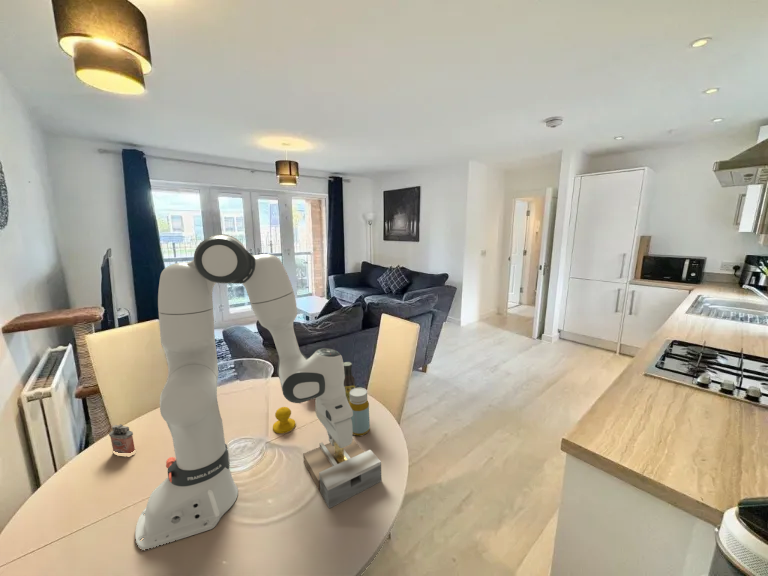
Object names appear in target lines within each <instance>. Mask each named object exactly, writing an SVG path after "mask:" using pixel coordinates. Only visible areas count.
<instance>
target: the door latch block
mask: <svg viewBox="0 0 768 576" xmlns="http://www.w3.org/2000/svg"><path fill="white" fill-rule="evenodd" d="M334 454H335V447H334V446H332V444H331V443H330V442H328V443H326V444H324V442H323V441H321V442H319V446H318V447H317V448H314V449H311V450H309V451H307V452H304V453H303V454H302V457H303V463H304V465H305V467H306V469H307V471H308V473H309V474H310V476H311V478H312V480H313V481H314V483H315V485H316V488H317V489H318V491H320V494H321V496H322V498H323V500H324V502H325V504H326V505H327V507H328V509H331V508H333V507H335V506H336V505H339V504H340V503H343V502H344V501H346V500H348V499H351V498H352V497H354V496H356V495H358V494H359V493H362V492H363V491H365V490H367V489H369V488H371V487H374V486H375V485H377V484H379V483H381V482H382V479H383V478H382V461H381V460H380V459H379V457H378V456H377V455H376V454H375V453H374V452H373V451H372V450H371V449H368V450H365V451H364V450H363V448H362V447H361V446H360V445H359V444H358V442H357V441H356V440H355V439H354V438H353V439H352V443H351V444H350V445H348V446H346V447H344V456H345V457H346V458H347V460H346V461H343V462H341V463H339V464H337V462H336V461H335V459H334Z"/></svg>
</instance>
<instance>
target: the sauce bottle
mask: <svg viewBox="0 0 768 576" xmlns="http://www.w3.org/2000/svg"><path fill="white" fill-rule="evenodd" d="M343 364H344V374H345V379H344V387H345V394H346V397H347V401H348V403H350V391H351V390H352V389H354V388H356V385H355V381H356V380H355V377H354V376H353V371H352V367H353V364H352V362H351V361H345V362H344V361H343Z"/></svg>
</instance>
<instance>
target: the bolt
mask: <svg viewBox="0 0 768 576" xmlns="http://www.w3.org/2000/svg"><path fill="white" fill-rule="evenodd" d="M334 447H335V454H334V459H335V461H336V462H337V464H339V463H341V462H343V461H346V460H347V458H346V457H345V456H344V447H343V448H340V447H339V446H338V444H337V443H336V442H334Z"/></svg>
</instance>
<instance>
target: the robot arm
mask: <svg viewBox="0 0 768 576" xmlns="http://www.w3.org/2000/svg"><path fill="white" fill-rule="evenodd" d="M216 284H242V285H243V286H244V288H245V291H246V293H247V296H248V298H249V302H250V305H251V308H252V310H253V313H254V315H255V317H256V319H257V320H258V322H259V324H260V326H261V327H263V328H265V329H267V330H268V331H269V333H270V334H271V336H272V339H273V342H274V344H275V348H276V349H275V350H276V351H277V355H278V362H277V369H276V370H277V372H276V373H277V376H278V379H279V382H280V387H281V391H282V395H283V396H284V398H285V399H286V400H287V401H288V402H290V403H293V404H301V403H306V402H309V401H311V400H314V401H315V403H314V404H315V405H314V407H315V416H316V418H317V419H318V421H319V422H320V423H321V425H323V427H324V428H325V430H326V433H327V437H328V441H329V442H328V443H331V444H332V446H334V442H336V443H337V444H338V446H339V447H340V448H343V447H346V446H348V445H350V444H351V443H352V439H354V438H353V437H354V436H353V435H354V434H353V430H352V420H351V418H350V417H352V416H353V410H352V408H351V407H350V405H349V403H348V401H347V397H346V394H345V387H344V379H345V374H344V364H343V363H344V360H343V356H342V355H341V353H340V352H339V351H337V349H336V350H335V349H333V348H326V347H322V348H319V349H317V350H315V351H314V353H313V354H312V355H310V357H307V356H306V355H305V354H304V353H303V352H302V351H301V349H300V347H299V343H298V339H297V337H296V333H295V330H294V322H295V320H296V318H297V315H298V307H297V301H296V300H297V299H296V296H295V292H294V288H293V285H292V283H291V280H290V277H289V275H288V272H287V271H286V269H285V266H284V264H283V263H282V261H281V259H280V258H279V257H278V256H276V255H275V254H274V255H273V254H269V253H263V254H255V255H254V254H251V253H250V252H249V251H248V250H247V249H246V248H245V245H244V244H243V243H242V242H241V241H240V240H239V239H237V238H235V237H234V236H232V235H229V234H224V233H223V234H221V233H220V234H214V235H211V236H208V237H207V238H204V239H203V240H202V241H201V242H200V243H199V244H198V245H197V246H196V248H195V251H194V254H193V259H192V260H191V261H185V262H176V263H173V264H171V265H168V266H167V267H165V268H164V269H163V270H162V271H161V273H160V277H159V284H158V290H157V291H158V293H157V308H158V321H159V331H160V335H159V336H160V344H161V347H162V349H163V351H164V354H165V358H166V363H167V368H168V373H167V377H166V382H165V384H164V387H163V389H162V391H161V393H160V395H159V409H160V410H159V411H160V415H161V417H162V419H163V420H164V421H165V422H166V424H167V427H168V429H169V432H170V434H171V437H172V442H173V443H172V444H173V448H174V450H173V451H174V456H175V457H174V456H170V457H168V458H167V460H166V461H165V467H166V469H167V478H166V479H164V480H163V481H162V482H161V483H160V484H159V485H158V486H157V487H156V488H155V489H154V490H153V491H152V492H151V493H150V496H149V498H148V501H147V504H146V506H145V508H144V509H143V511H142V512H141V514H140V515H139V517H138V519H137V521H136V526H135V531H134V533H135V535H134V536H135V539H136V541H135V544H136V543H137V545H138V547H139V548H141V549H142V550H144V549H148V550H150V549H149V548H151V549H154V548H157V547H160V546H159V545H161V546H162V545H163V544H164V545H166V543H167V544H169V542H170V543H172V542H176V541H179V540H182V539H185V538H188V537H191V536H193V535H197V534H200V533H203V532H206V531H210V530H212V529H214V528H215V527H216V526H217V525H218V523H219V522H220V520H221V519H222V517H223V516H224V514H226V513H227V512H228V510H230V508H231V507H232V506H233V505H234V504H235V502H236V500H237V499H238V494H239V489H238V486H237V484H236V483H235V481H234V479H233V476H232V472H231V469H230V465H231V464H230V463H231V462H230V461H231V460H230V453H229V448H228V445H227V443H226V438H225V432H224V430H225V429H224V422H223V419H222V416H221V413H220V408H219V401H218V395H217V394H218V379H219V365H218V355H217V354H218V353H217V346H216V345H217V344H216V335H215V321H214V305H213V304H214V301H213V292H214V291H213V290H214V286H215V285H216ZM144 514H145V515H144ZM142 538H144V539H143V540H142V541H140V540H141V539H142ZM135 539H134V540H135ZM175 540H176V541H175ZM137 545H136V546H137ZM156 546H157V547H156ZM138 547H137V548H138ZM153 547H154V548H153ZM139 548H138V549H139ZM142 550H141V551H142ZM144 551H145V550H144Z"/></svg>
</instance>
